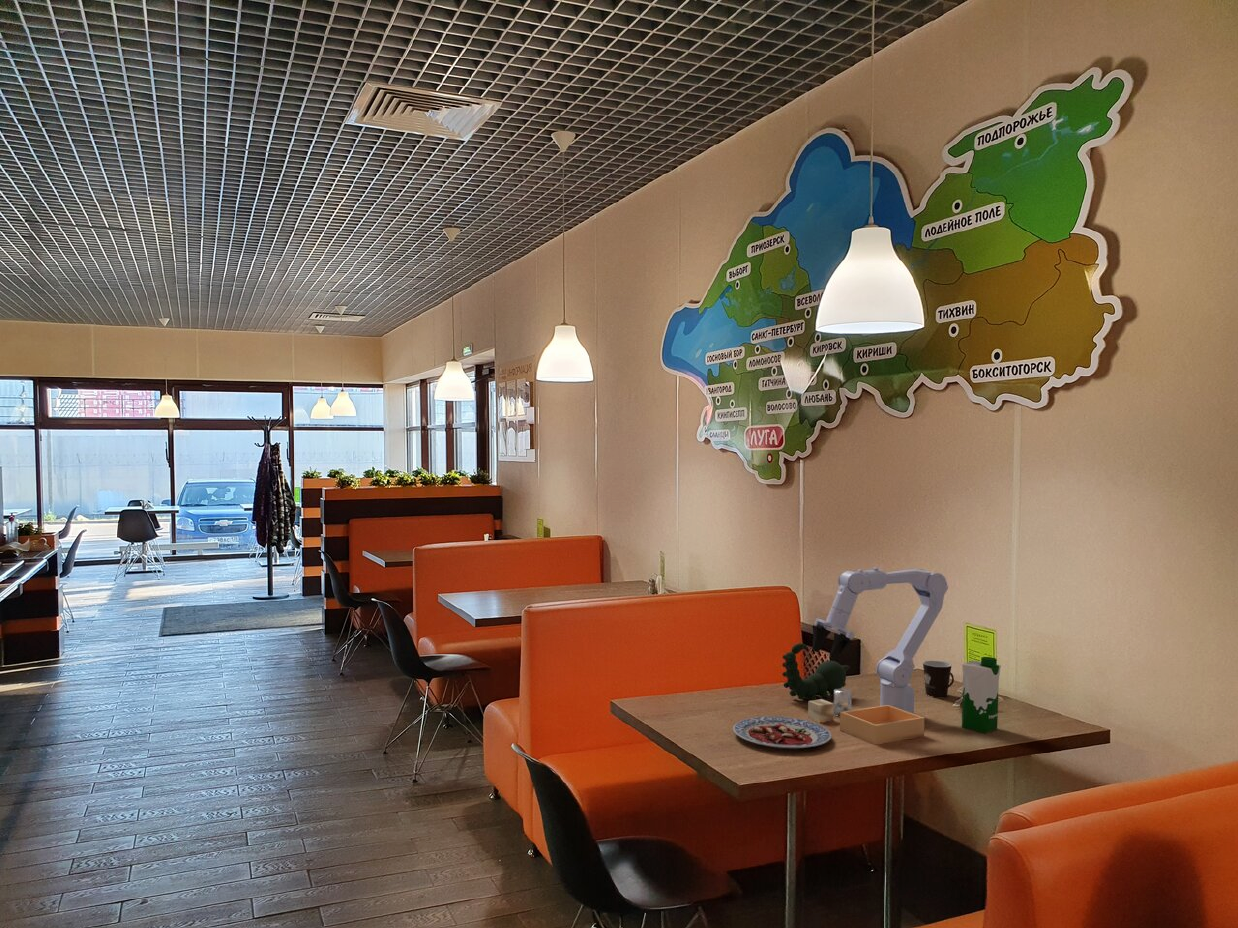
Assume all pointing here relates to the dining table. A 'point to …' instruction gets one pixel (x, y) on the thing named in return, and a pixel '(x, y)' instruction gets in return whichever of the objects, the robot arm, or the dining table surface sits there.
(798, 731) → the ceramic plate
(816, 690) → the toy figurine
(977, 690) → the milk carton
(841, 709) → the steel cylinder
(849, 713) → the light wood open box
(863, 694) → the dining table surface
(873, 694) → the dining table surface
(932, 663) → the coffee mug
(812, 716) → the beech cube
